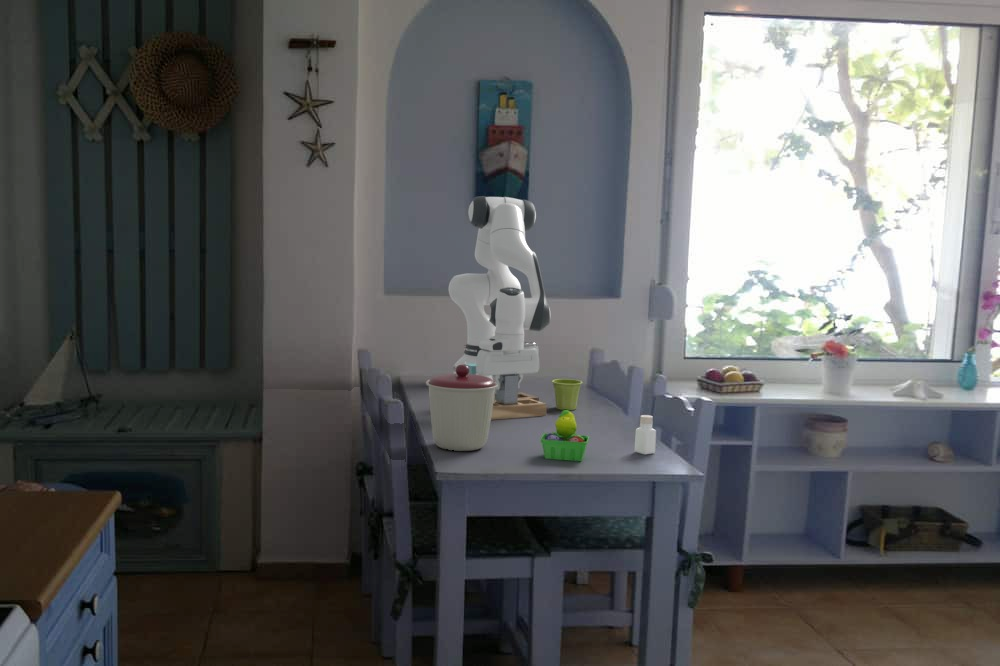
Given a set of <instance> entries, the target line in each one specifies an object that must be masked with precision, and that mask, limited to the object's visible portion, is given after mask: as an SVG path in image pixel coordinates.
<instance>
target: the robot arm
mask: <svg viewBox="0 0 1000 666" xmlns="http://www.w3.org/2000/svg"><path fill="white" fill-rule="evenodd" d="M536 218H537V211H536V207H535V205H534V204H533V202H532V201H530V200H527V199H519V198H514V197H509V196H503V197H502V196H485V195H482V196H481V195H480V196H475V197H474V198H473V199H472V200H471V202H470V205H469V206H468V219H469V223H470V224H471V226H472V227H474V228H477V229H478V231H477V236H476V243H475V250H474V258H475V261H476V262H477V263H478V264H479V265H480V266H482V267H484V268H485V269H487V270H488V271H487V272H486V273H470V272H469V273H461V274H457V275H454V276H453V277H452V278H451V280H450V281H449V284H448V295H449V297H450V300H452V302H454V303H455V304H456V305H457V307H459V308H460V309H461V311H462V312H463V314H464V317H465V320H466V329H467V330H466V332H467V337H466V338H467V341H466V342H467V343H466V344H464V345H463V346H464V347H463V349H464V351H463V353H464V354H463V355H462V356H461V357H460V358H459V359H458V360H457V361H456V362H455V363H454V365H453V366H452V368H453V370H452V371H453V374H456V367H457V366H458V365H464V364H475V363H476V372H477V373H476V375H481V376H485V377H488V378H491V379H492V380H493V381H494V382H496V383H498V387H497V388H495V391H497V390H502V384H500V383H499V380H498V379H499V378H500V375H508V374H515V375H519V379H518V390H519V389H520V388H521V387H520V385H521V382H522V381H523V379H524V374H537V373H538V372H539V370H540V357H539V353H540V352H539V351H540V350H539V349H540V348H539V346H538V344H537V343H535V342H534V341H533V342H532V341H531V342H527V341H526V342H525V330H526V331H527V330H529V331H532V332H533V331H535V332H541V331H543V330H544V329H545V328H547V327H548V326H549V325H550V322H551V316H552V315H551V308H550V305H549V301H548V299H547V295H546V291H545V285H544V281H543V276H542V272H541V268H540V263H539V258H538V256H537V254H536V252H535V251H534V250H532V249H531V248H530V247H529V245H528V244H527V240H526V232H528V231H530V230H531V229H532V228H533V227H534V224H535V222H536ZM509 267H511V268H513V269H516V271H519V272H521V273H523V274H524V275H525V276H526V277H527V281H528V285H529V290H530V295H531V297H525V293H524V290H522V287H521V283H520V281H519V280H518V278H517V277H516V276H515V275H514V274H513V273H512V272H511V270H510V268H509ZM485 306H490V310H489V313H490V315H489V314H488V313H486V311H485Z"/></svg>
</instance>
